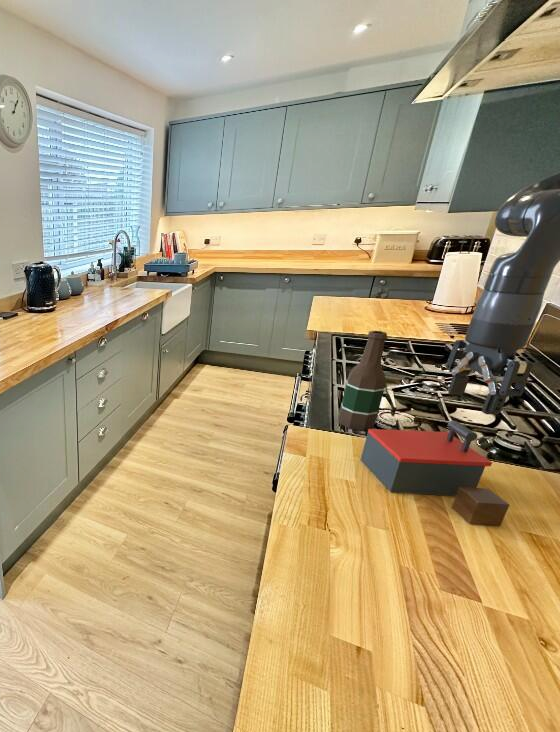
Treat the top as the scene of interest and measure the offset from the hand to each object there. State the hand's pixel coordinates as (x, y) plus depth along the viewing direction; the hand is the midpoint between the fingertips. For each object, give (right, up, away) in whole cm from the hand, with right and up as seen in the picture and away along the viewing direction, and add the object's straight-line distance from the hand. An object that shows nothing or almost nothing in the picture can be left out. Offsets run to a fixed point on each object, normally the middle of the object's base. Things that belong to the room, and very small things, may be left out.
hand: (471, 403), depth 77 cm
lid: (-5, -9, +5) cm, 11 cm away
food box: (-5, -15, +7) cm, 18 cm away
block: (-3, -20, -4) cm, 20 cm away
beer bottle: (0, -7, +28) cm, 29 cm away
